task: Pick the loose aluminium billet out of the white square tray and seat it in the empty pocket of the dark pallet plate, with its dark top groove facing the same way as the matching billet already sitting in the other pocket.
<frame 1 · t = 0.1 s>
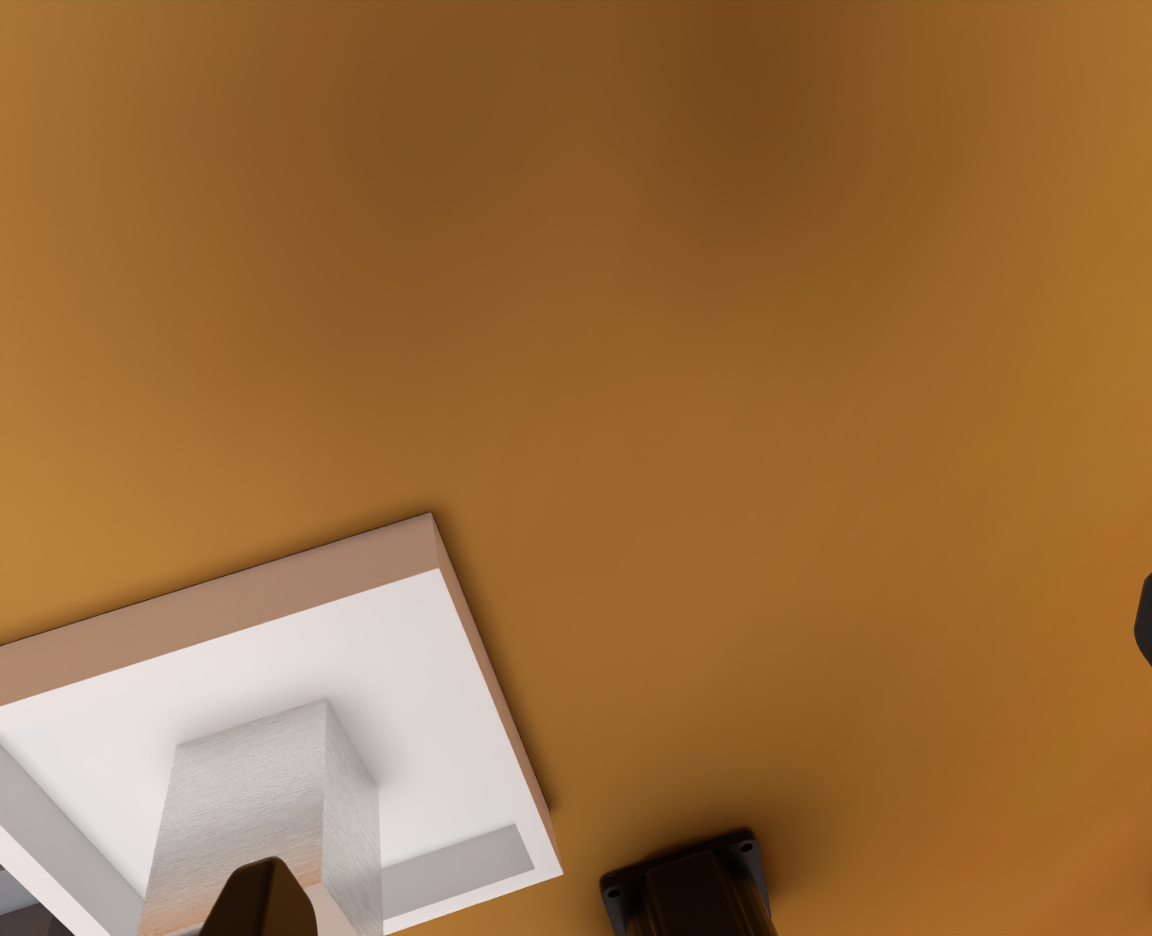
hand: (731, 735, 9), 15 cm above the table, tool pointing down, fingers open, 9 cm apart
white square tray: (283, 752, 27), on the table
billet loose: (282, 768, 27), point 1 cm above the table, touching white square tray
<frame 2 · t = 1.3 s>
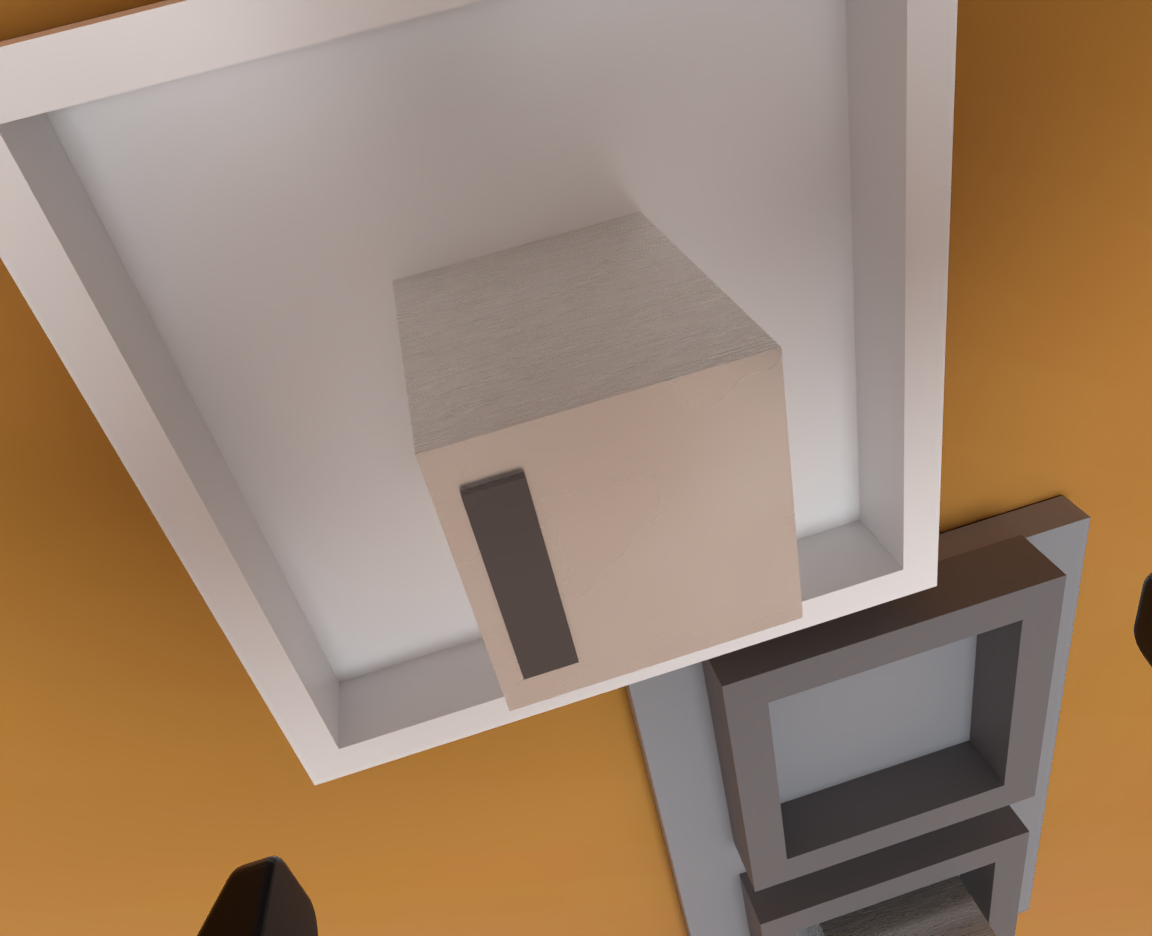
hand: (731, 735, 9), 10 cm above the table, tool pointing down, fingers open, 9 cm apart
white square tray: (540, 346, 17), on the table
billet loose: (545, 359, 17), point 1 cm above the table, touching white square tray
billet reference: (870, 903, 29), point 1 cm above the table, touching pallet plate
pallet plate: (852, 785, 27), on the table
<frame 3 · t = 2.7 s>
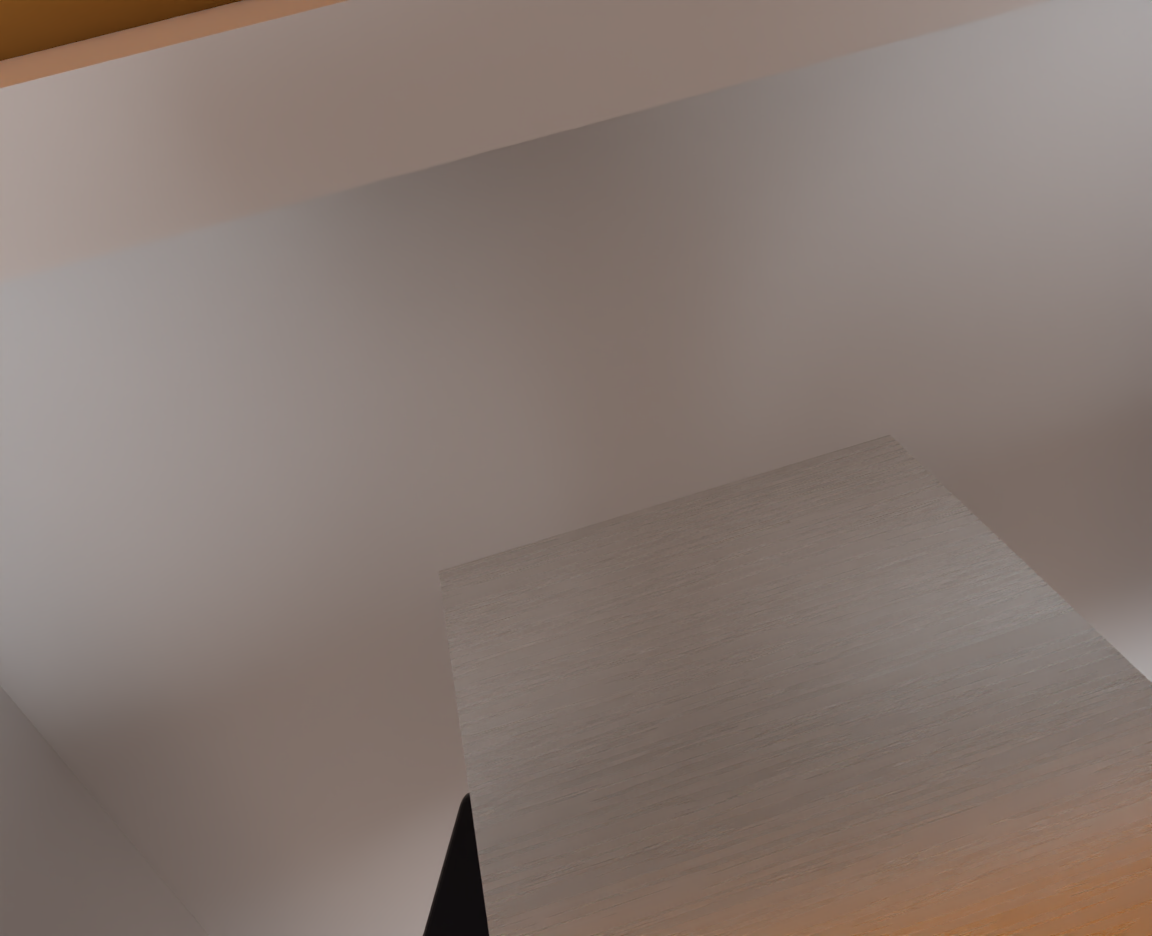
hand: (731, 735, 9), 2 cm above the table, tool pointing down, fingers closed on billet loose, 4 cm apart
white square tray: (680, 627, 10), on the table
billet loose: (697, 664, 10), point 1 cm above the table, touching gripper, white square tray
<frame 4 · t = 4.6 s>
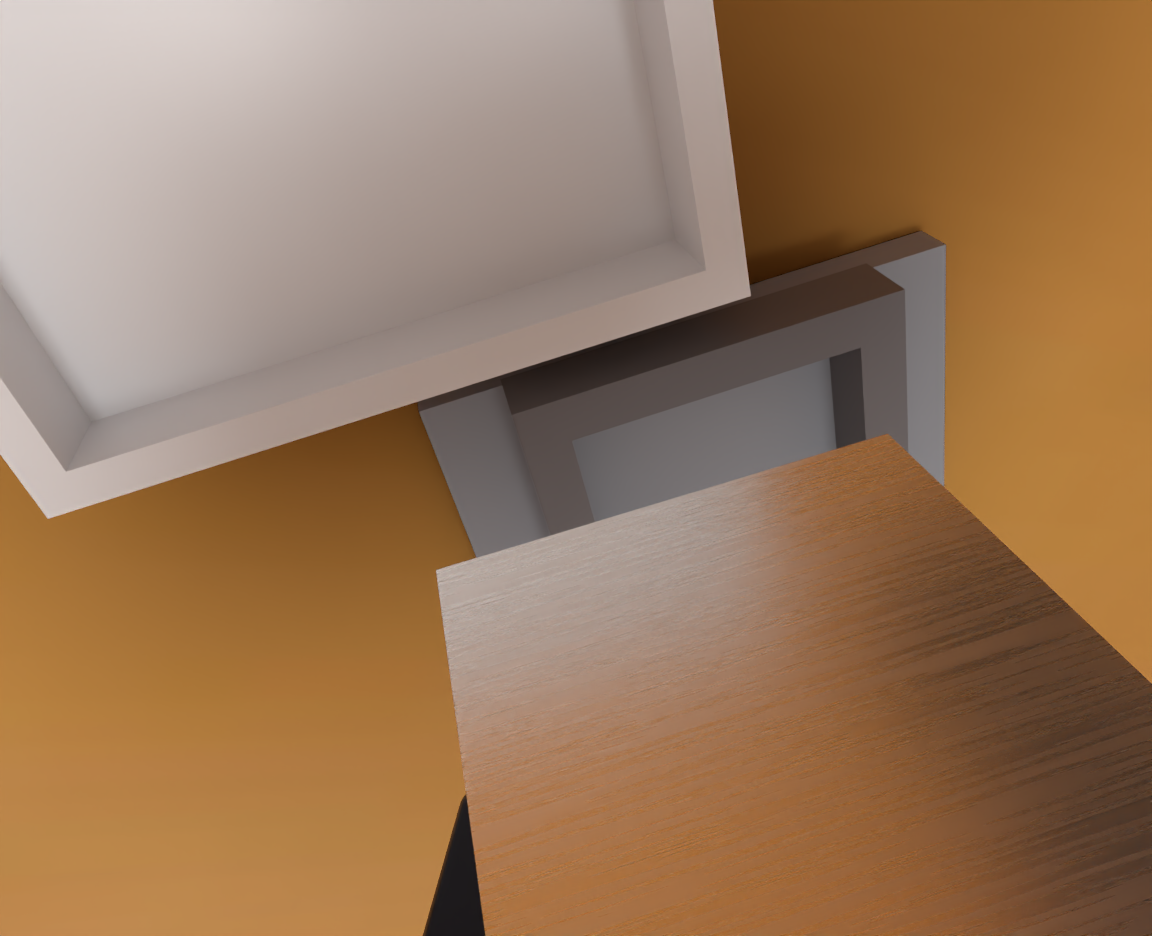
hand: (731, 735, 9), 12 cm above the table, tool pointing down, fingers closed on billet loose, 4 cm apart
billet loose: (695, 663, 10), point 11 cm above the table, touching gripper
pallet plate: (725, 595, 25), on the table
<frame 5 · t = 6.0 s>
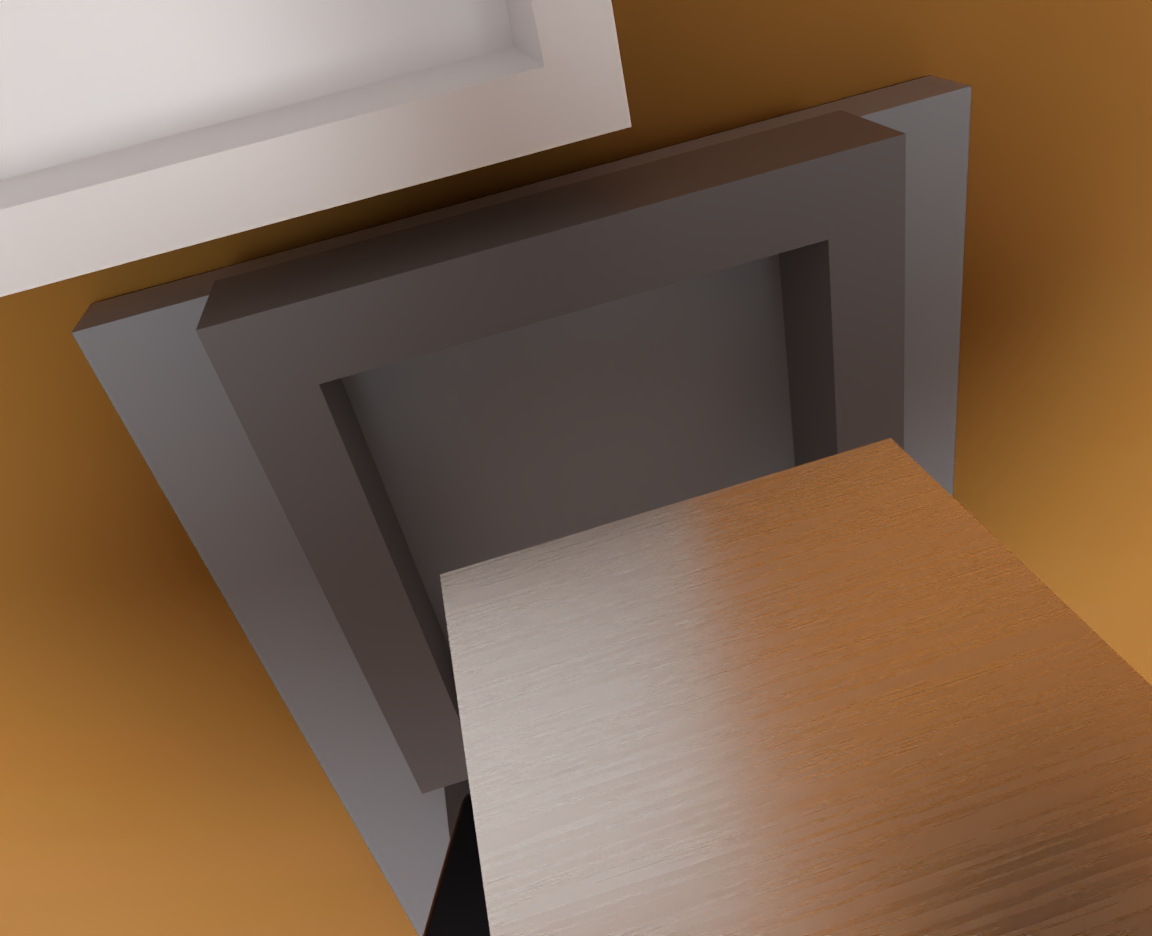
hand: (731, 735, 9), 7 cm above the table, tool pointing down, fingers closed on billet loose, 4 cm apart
billet loose: (698, 667, 10), point 6 cm above the table, touching gripper
pallet plate: (633, 643, 17), on the table
when the fingers open (3 cm above the table, at t = 7.0 s): billet loose drops 1 cm, resting on pallet plate.
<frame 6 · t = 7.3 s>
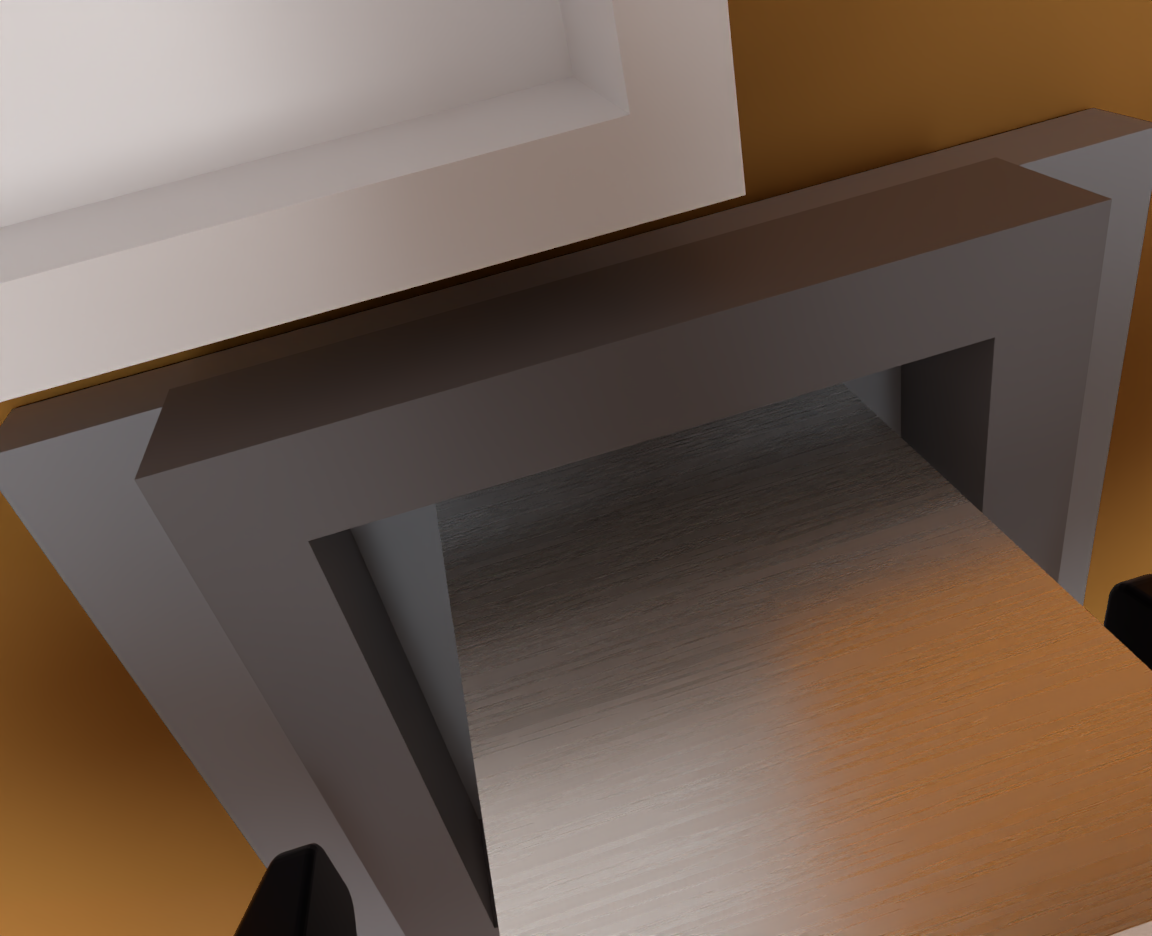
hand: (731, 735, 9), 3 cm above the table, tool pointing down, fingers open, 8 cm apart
billet loose: (665, 583, 11), point 1 cm above the table, touching pallet plate
pallet plate: (687, 773, 14), on the table
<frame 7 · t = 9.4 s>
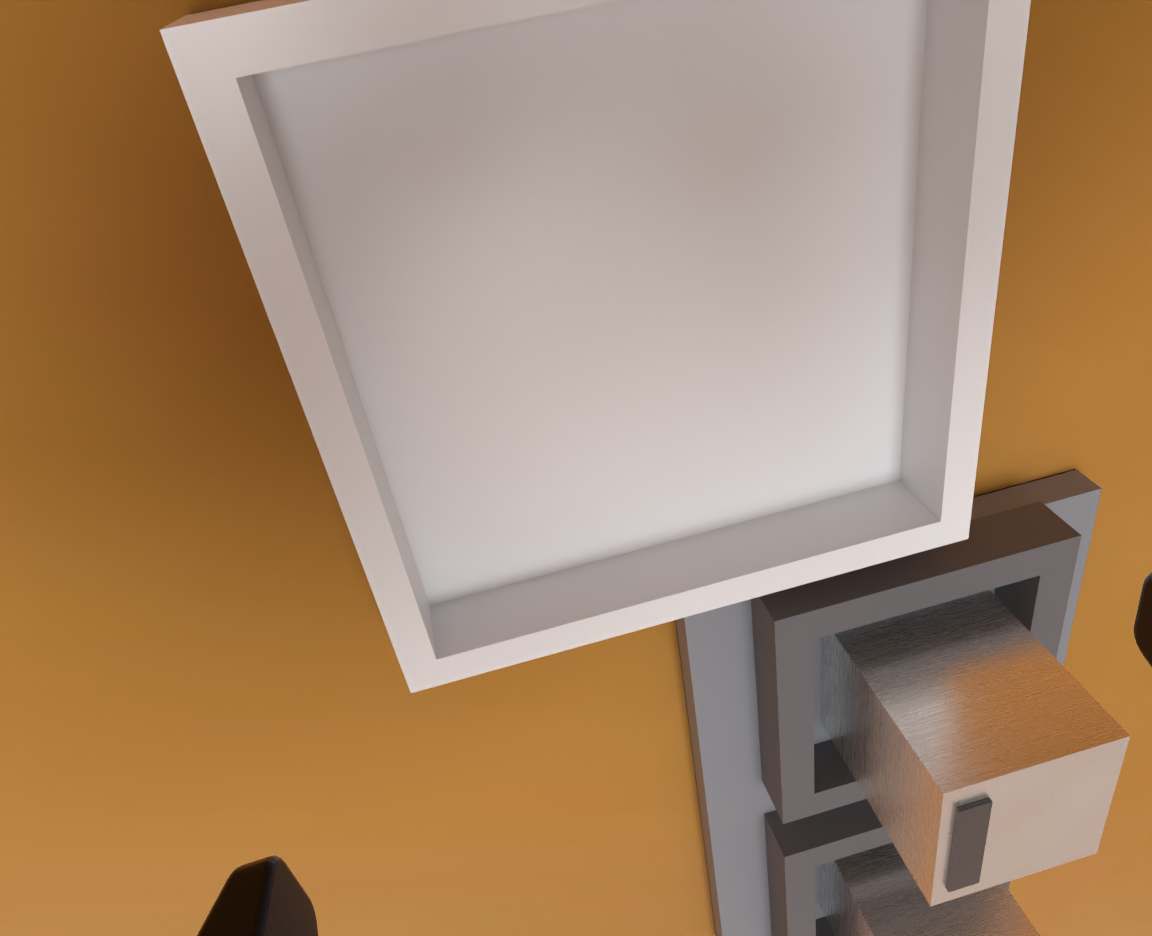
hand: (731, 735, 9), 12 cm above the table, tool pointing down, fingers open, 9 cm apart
white square tray: (635, 305, 19), on the table
billet loose: (893, 649, 26), point 1 cm above the table, touching pallet plate
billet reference: (879, 851, 31), point 1 cm above the table, touching pallet plate
pallet plate: (869, 736, 29), on the table
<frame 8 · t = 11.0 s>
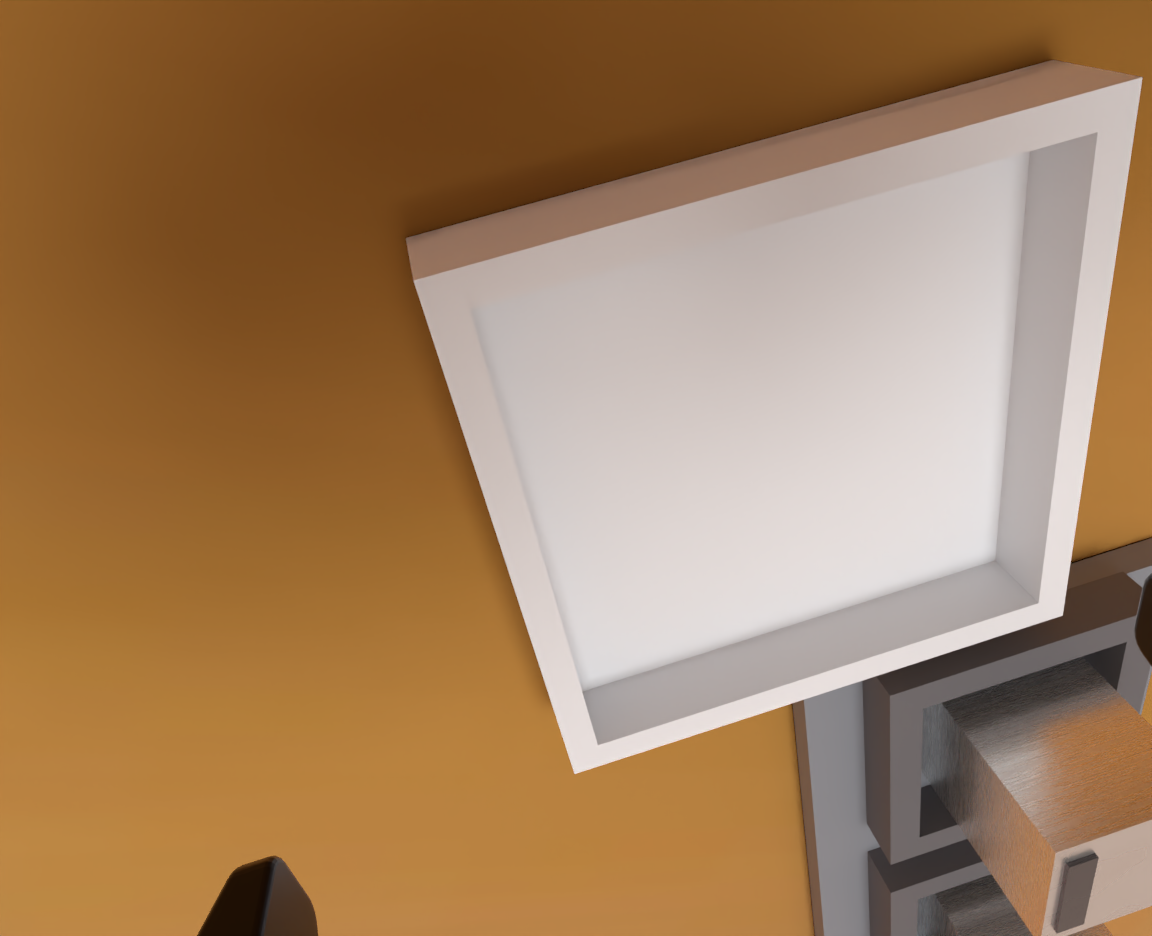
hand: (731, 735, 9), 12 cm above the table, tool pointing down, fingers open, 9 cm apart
white square tray: (766, 431, 22), on the table
billet loose: (987, 705, 28), point 1 cm above the table, touching pallet plate
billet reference: (970, 878, 34), point 1 cm above the table, touching pallet plate
pallet plate: (960, 777, 32), on the table
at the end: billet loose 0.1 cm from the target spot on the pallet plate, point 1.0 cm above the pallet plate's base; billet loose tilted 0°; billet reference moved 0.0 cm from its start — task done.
